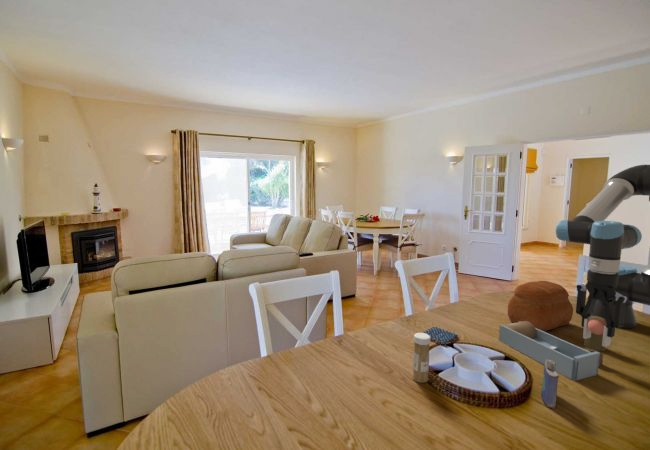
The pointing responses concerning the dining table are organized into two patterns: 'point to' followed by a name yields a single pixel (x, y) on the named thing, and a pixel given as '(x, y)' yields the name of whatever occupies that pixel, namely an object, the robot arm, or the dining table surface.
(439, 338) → the woven mat
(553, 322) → the bread
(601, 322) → the ball
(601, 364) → the hollow square tube
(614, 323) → the robot arm
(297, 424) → the dining table surface
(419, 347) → the sprinkles bottle
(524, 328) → the long open box
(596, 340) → the cork
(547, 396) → the flask
